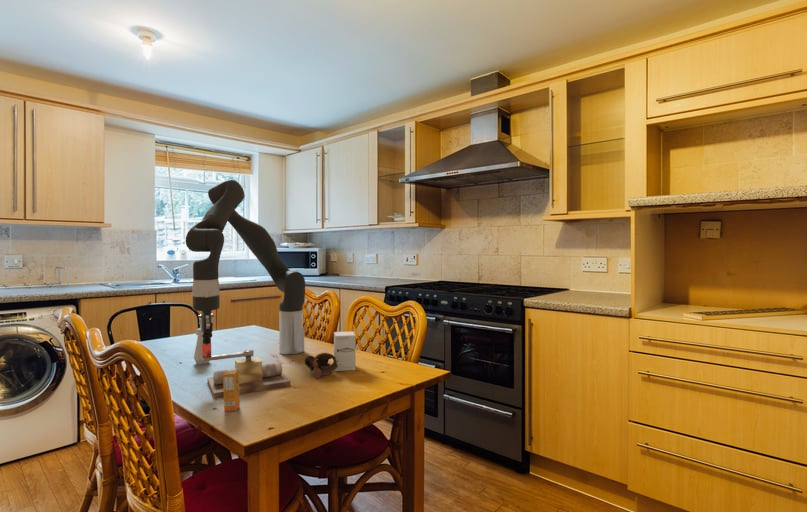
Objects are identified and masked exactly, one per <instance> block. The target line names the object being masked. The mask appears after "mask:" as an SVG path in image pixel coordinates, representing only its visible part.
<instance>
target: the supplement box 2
mask: <svg viewBox="0 0 807 512" xmlns="http://www.w3.org/2000/svg"><path fill="white" fill-rule="evenodd" d="M356 337H357V336H356V333H355V331H334V332H333V356H335V358H336V361H337V362H336V363H337V365H338V368H336V369H335V370H334V372H342V371H345V372H346V371H356Z"/></svg>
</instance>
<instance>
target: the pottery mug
mask: <svg viewBox="0 0 807 512" xmlns="http://www.w3.org/2000/svg"><path fill="white" fill-rule="evenodd" d="M331 359H332V360H333V361H332V363H331V364H330V363H329V361H330V360H331ZM336 362H337V361H336V358H335V356H334V354H332V353H328V352H321V353H318V354H317V355H316V356H312V355H307V356H306V357H305V359H304V364H305V365H306V367H307V368H309V370H310V372H311V373H312V372H314V371H315V374H314V376H315V378H317V379H321V377H323V376H326V375H329V374H332V373H333V372H335V369H336V368H338V365H337V363H336Z"/></svg>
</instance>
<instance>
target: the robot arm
mask: <svg viewBox="0 0 807 512" xmlns="http://www.w3.org/2000/svg"><path fill="white" fill-rule="evenodd" d="M207 195H208V198H209V200H210V203H211V204H212V206H210V208H209V209H208V210H207V211H206V212H205V214H204V216H203V217H202V219H201V220H200V221H198V223H196V224H195V225H193V226H192V227H191V228H190V229H189V230H188V232H187V233H186V235H185V245H186V247H187V248H188V249H189V250H190V251H192V252H194V253H204V252H205V253H210V254H209V256H208V257H206V258H201V259H198V260H195V261H194V262H193V264H192V272H193V274H192V275H193V276H192V277H193V278H192V279H193V281H192V287H191V288H192V289H191V290H192V310H194V311H196V312H201V314H200V315H199V314H198V320H199V328H200V329H201V331H202V332H201V333H202V338H203V343H211V344H212V337H213V331H214V321H215V316H214V314H213V313H212V311H216V310H218V309H220V307H221V305H220V303H221V302H220V300H221V299H220V297H221V296H220V282H219V264H220V258H221V254H222V251H223V247H224V246H225V245H224V244H225V235H224V234H223V232H224V230H225V228H226V226H227V223H229V224H230V225H231V226H232V228H233V229H234V230H235V232H237V234H238V236H240V238H241V239H242V240H243V242H244V243H245V245H246V246H247V248H248V249H249V250H250V252H251V253H252V254H253V255H254V256H255V258H257V260H258V261H259V263H260V264H261V265H262V267H263V268H264V269H265V270H266V272H267V273H268V275H269V277H270V278H271V280H272V281H273V283H274V284H275V286H276V287H277V289H278V290H279V291H280V292H281V293H283V301H282V302H280V303H279V305H278V306H279V308H278V309H279V310H278V311H279V314H278V316H279V317H278V318H279V322H278V323H279V325H278V326H279V330H278V331H279V337H278V338H279V346H278V347H279V353H280V354H281V355H299V354H301V353H304V352H305V328H304V326H303V321H304V320H303V319H304V318H303V316H304V315H303V313H304V311H303V310H304V304H305V301H306V300H305V298H306V280H305V277H304V275H303V274H302V272H299V271H295V270H291V269H289V268H288V267H287V266H286V265H285V263H284V262H283V260H282V259H281V257H280V255H279V252H278V248H277V245H276V242H275V241H274V239H273V237H272V236H271V235H270V233H269V232H268V230H267V229H266V228H265V227H264V226H262V225H260V224H258V223H256V222H254V221H252V220H249V219H248V218H246V217H243V216H242V215H241V214H239V213H238V212H237V210H236V209H237V207H239V205H240V204H241V203H242V202H243V201H244V200H245V190H244V188H243V186H242V185H241V184H240V183H239V182H238V181H237V180H235V179H227V180H224V181H222V182H220V183H218V184H216V185H215V186H213V187H211V188H209V190H208V191H207Z"/></svg>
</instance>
